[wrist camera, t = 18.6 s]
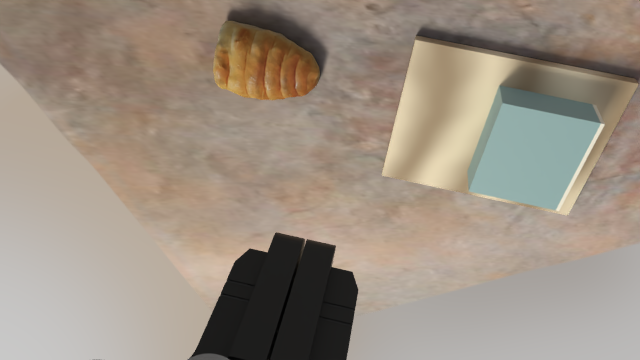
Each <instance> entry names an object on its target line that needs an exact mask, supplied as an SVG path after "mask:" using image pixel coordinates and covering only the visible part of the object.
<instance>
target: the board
mask: <svg viewBox="0 0 640 360" xmlns="http://www.w3.org/2000/svg"><path fill="white" fill-rule="evenodd" d="M499 85H500V86H505V87H510V88H515V89H520V90H525V91H530V92H535V93H539V94H544V95H549V96H554V97H559V98H564V99H569V100H574V101H579V102H584V103H589V104H593V105H596V106H597V109H598V111H599V113H600V115H601V117H602V119H603V121H604V123H605V125H604V127H603V129H602V131H601V133H600V134H599V136H598V138H597V140H596V142H595V144H594V146H593V148H592V150H591V151H590V153H589V155H588V157H587V159H586V161H585V163H584V165H583V167H582V169H581V170H580V172H579V174H578V176H577V178H576V180H575V182H574V184H573V186H572V187H571V189H570V191H569V193H568V195H567V197H566V199H565V201H564V203H563V204H562V206H561V208H560V210H559V211H556V210H552V209H547V208H542V207H538V206H533V205H529V204H524V203H519V202H515V201H510V200H506V199H501V198H497V197H492V196H487V195H483V194H478V193H474V192H469V189H468V172H467V171H468V168H469V166H470V163H471V160H472V157H473V155H474V152H475V149H476V147H477V144H478V141H479V139H480V136H481V133H482V131H483V128H484V125H485V122H486V120H487V117H488V114H489V112H490V109H491V106H492V104H493V101H494V98H495V95H496V93H497V90H498V87H499ZM638 85H639V83H638V82H637V80H636V79H635V78H630V77H625V76H620V75H615V74H610V73H605V72H600V71H594V70H589V69H584V68H579V67H574V66H569V65H564V64H559V63H554V62H549V61H544V60H539V59H534V58H528V57H523V56H518V55H513V54H508V53H503V52H498V51H493V50H488V49H483V48H478V47H473V46H467V45H462V44H457V43H452V42H447V41H442V40H437V39H432V38H427V37H422V36H417V35H416V37H415V41H414V45H413V49H412V53H411V57H410V62H409V66H408V70H407V74H406V78H405V82H404V86H403V90H402V94H401V98H400V102H399V106H398V110H397V114H396V118H395V122H394V126H393V130H392V134H391V138H390V142H389V146H388V150H387V154H386V158H385V162H384V166H383V171H382V176H387V177H392V178H396V179H401V180H406V181H410V182H415V183H419V184H424V185H429V186H433V187H438V188H443V189H447V190H452V191H456V192H461V193H466V194H470V195H475V196H480V197H484V198H489V199H493V200H498V201H503V202H507V203H512V204H517V205H521V206H526V207H530V208H535V209H540V210H544V211H549V212H554V213H558V214H563V215H567V216H568V214H569V212H570V210H571V208H572V207H573V205H574V203H575V201H576V199H577V197H578V195H579V194H580V192H581V190H582V188H583V186H584V184H585V182H586V181H587V179H588V177H589V175H590V173H591V171H592V170H593V168H594V166H595V164H596V162H597V160H598V158H599V157H600V155H601V153H602V151H603V149H604V147H605V146H606V144H607V142H608V140H609V138H610V136H611V134H612V133H613V131H614V129H615V127H616V125H617V123H618V121H619V120H620V118H621V116H622V114H623V112H624V110H625V109H626V107H627V105H628V103H629V101H630V99H631V97H632V96H633V94H634V92H635V90H636V88H637V86H638Z"/></svg>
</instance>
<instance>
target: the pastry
mask: <svg viewBox="0 0 640 360" xmlns="http://www.w3.org/2000/svg"><path fill="white" fill-rule="evenodd" d="M213 72H214V79H215V82H216V83H217V85H218V86H219V87H220V88H221V89H227V90H230V91H232V92H234V93H236V94H238V95H240V96H243V97H250V98H257V99H261V100H265V99H269V100H276V99H285V98H287V97H296V96H304V95H306V94H307V93H309V92H310V91H311V90H312V89H313V88H314V87H315V86H316V85H317V83H318V81H319V78H320V70H319V66H318V64H317V62H316V60H315V58H314V57H313V55H312V54H311V53H310V52H308V51H306V50H304V49H303V48H302V47H299V46H298V45H296V44H295V43H294V42H293V41H290V40H288V39H287V38H286V37H285V36H284V35H282V34H281V33H275V32H273V31H270V30H264V29H261V28H259V27H257V26H253V25H249V24H244V23H238V22H235V21H226V22H225V23H224V24H223V25H222V27H221V30H220V33H219V36H218V44H217V47H216V50H215V57H214V65H213Z"/></svg>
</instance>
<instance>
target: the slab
mask: <svg viewBox="0 0 640 360" xmlns="http://www.w3.org/2000/svg"><path fill="white" fill-rule="evenodd" d="M604 125H605V123H604V121H603V119H602V117H601V115H600V113H599V111H598V109H597V106H596V105H593V104H589V103H584V102H579V101H574V100H569V99H564V98H559V97H554V96H549V95H544V94H539V93H535V92H530V91H525V90H520V89H515V88H510V87H505V86H500V85H499V87H498V90H497V93H496V95H495V98H494V101H493V104H492V106H491V109H490V112H489V114H488V117H487V120H486V122H485V125H484V128H483V131H482V133H481V136H480V139H479V141H478V144H477V147H476V149H475V152H474V155H473V157H472V160H471V163H470V166H469V168H468V171H467V172H468V189H469V192H474V193H478V194H483V195H487V196H492V197H497V198H501V199H506V200H510V201H515V202H519V203H524V204H529V205H533V206H538V207H542V208H547V209H552V210H556V211H559V210H560V208H561V206H562V204H563V203H564V201H565V199H566V197H567V195H568V193H569V191H570V189H571V187H572V186H573V184H574V182H575V180H576V178H577V176H578V174H579V172H580V170H581V169H582V167H583V165H584V163H585V161H586V159H587V157H588V155H589V153H590V151H591V150H592V148H593V146H594V144H595V142H596V140H597V138H598V136H599V134H600V133H601V131H602V129H603V127H604Z"/></svg>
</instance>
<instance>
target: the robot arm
mask: <svg viewBox="0 0 640 360" xmlns="http://www.w3.org/2000/svg"><path fill="white" fill-rule="evenodd" d="M304 245H305V247H304ZM335 248H336V246H335V245H330V244H326V243H321V242H317V241H313V240H308V239H307V241H306V244H305V239H303V238H299V237H294V236H290V235H285V234H281V233H277V232H276V233H275V235H274V237H273V240H272V242H271V245H270V248H269V250H268V253H267V252H263V251H258V250H254V249H249V250H248V251H246V252H245V253H244V254H243V255H242V256H241V257H240V258H239V259H237V260H236V261H235V263H234V265H233V267H232V269H231V272H230V274H229V276H228V278H227V282H226V283H225V285H224V287H223V290H222V292H221V296H219V299H218V301H217V303H216V306H215V308H214V310H213V312H212V315H211V317H210V319H209V321H208V324H207V326H206V328H205V331H204V333H203V335H202V338H201V339H200V342H199V344H198V346H197V348H196V350H195V352H194V353H193V355H192V356H191V357H190V358H189V359H188V360H346V358H347V353H348V347H349V341H350V335H351V329H352V323H353V318H354V311H355V306H356V300H357V295H358V288H357V285H356V281H355V278H354V275H353V272H350V271H346V270H342V269H337V268H333V267H332V263H333V258H334V253H335Z"/></svg>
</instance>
